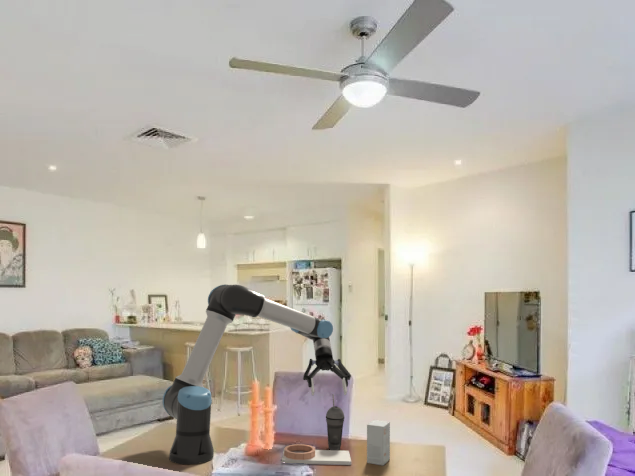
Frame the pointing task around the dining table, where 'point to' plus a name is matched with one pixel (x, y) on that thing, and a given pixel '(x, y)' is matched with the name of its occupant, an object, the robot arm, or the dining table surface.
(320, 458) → the pale grey board
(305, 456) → the terracotta ring holder
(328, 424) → the beverage cup
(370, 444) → the small box
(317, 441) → the dining table surface
